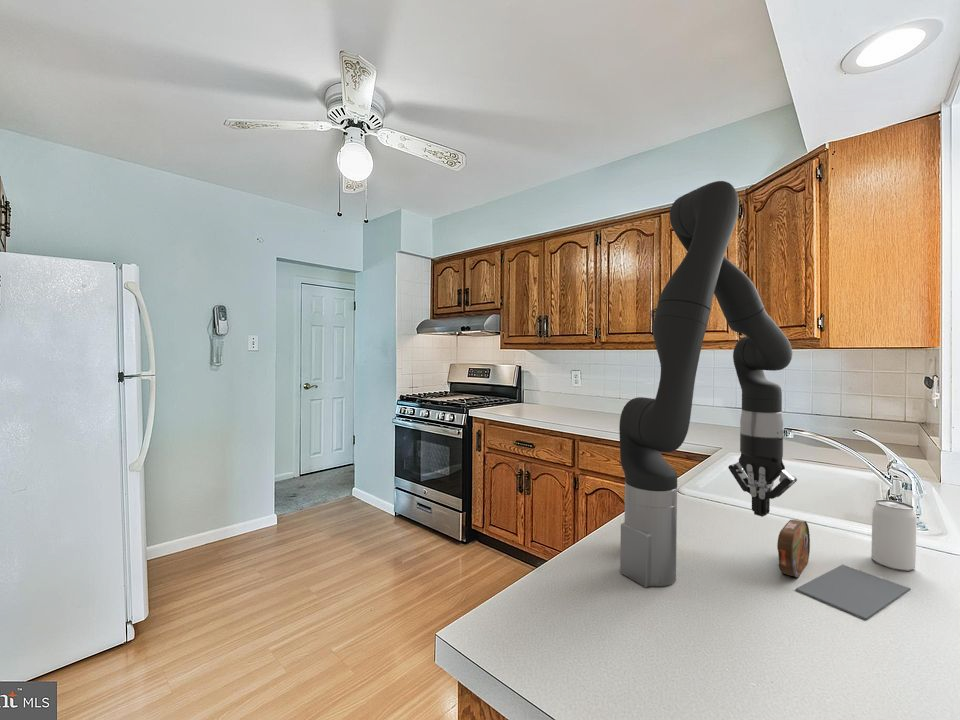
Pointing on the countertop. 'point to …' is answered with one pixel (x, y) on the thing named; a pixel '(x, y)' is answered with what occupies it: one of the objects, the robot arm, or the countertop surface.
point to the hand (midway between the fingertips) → (760, 514)
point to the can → (894, 535)
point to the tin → (793, 547)
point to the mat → (853, 591)
